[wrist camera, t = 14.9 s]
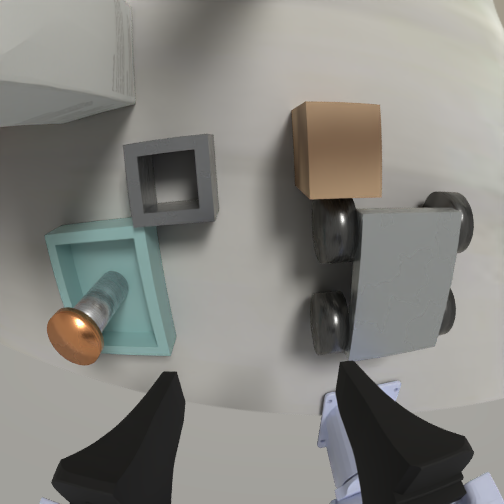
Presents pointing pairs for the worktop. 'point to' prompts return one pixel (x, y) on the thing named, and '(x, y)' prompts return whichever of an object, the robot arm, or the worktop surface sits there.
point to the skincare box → (64, 60)
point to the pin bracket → (144, 185)
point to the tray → (130, 267)
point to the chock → (337, 150)
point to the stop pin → (87, 320)
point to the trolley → (388, 274)
